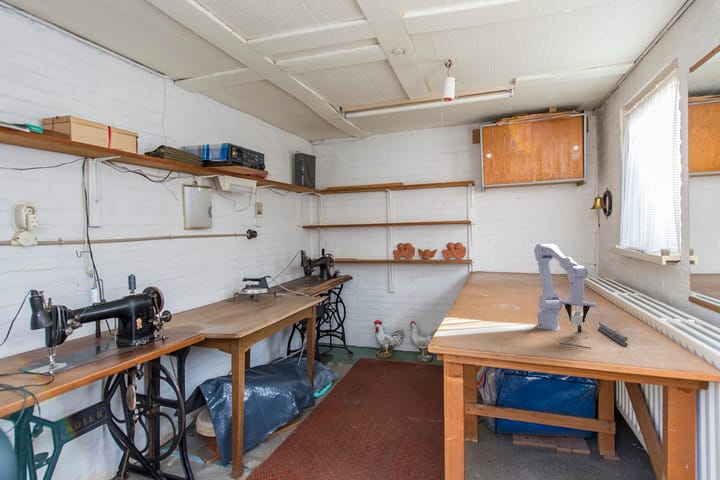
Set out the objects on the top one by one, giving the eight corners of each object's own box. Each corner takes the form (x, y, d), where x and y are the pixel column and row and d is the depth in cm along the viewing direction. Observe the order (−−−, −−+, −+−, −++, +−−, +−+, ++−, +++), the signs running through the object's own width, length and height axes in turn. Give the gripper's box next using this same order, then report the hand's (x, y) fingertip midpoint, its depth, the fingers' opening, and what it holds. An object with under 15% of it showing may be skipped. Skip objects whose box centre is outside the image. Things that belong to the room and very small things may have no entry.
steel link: (570, 324, 166) (570, 315, 166) (573, 318, 176) (573, 310, 176) (582, 325, 163) (582, 316, 163) (584, 319, 173) (584, 311, 173)
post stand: (567, 337, 172) (567, 325, 172) (571, 329, 185) (571, 318, 185) (587, 340, 168) (587, 328, 168) (589, 331, 181) (589, 320, 181)
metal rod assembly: (597, 330, 182) (597, 321, 182) (603, 331, 182) (603, 321, 182) (622, 347, 157) (622, 336, 157) (629, 348, 157) (629, 336, 157)
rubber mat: (559, 344, 163) (559, 343, 163) (562, 337, 173) (562, 336, 173) (590, 348, 156) (590, 347, 156) (592, 341, 166) (592, 340, 166)
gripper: (558, 292, 167) (558, 321, 168) (595, 294, 159) (595, 325, 160) (560, 289, 173) (560, 317, 174) (596, 292, 165) (596, 321, 165)
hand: (577, 321), depth 167 cm, fingers closed on steel link, 4 cm apart
